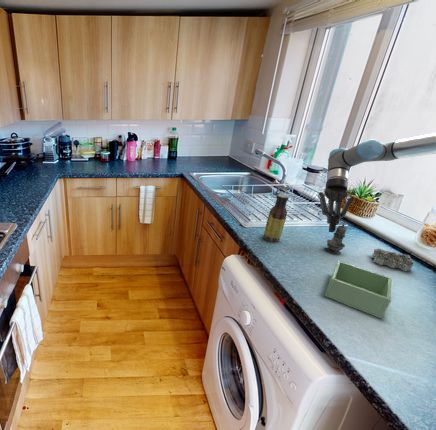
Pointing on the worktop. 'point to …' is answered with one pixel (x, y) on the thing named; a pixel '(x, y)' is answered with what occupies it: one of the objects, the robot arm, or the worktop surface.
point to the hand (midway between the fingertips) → (332, 231)
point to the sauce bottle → (276, 219)
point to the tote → (360, 288)
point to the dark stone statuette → (336, 241)
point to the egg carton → (392, 259)
